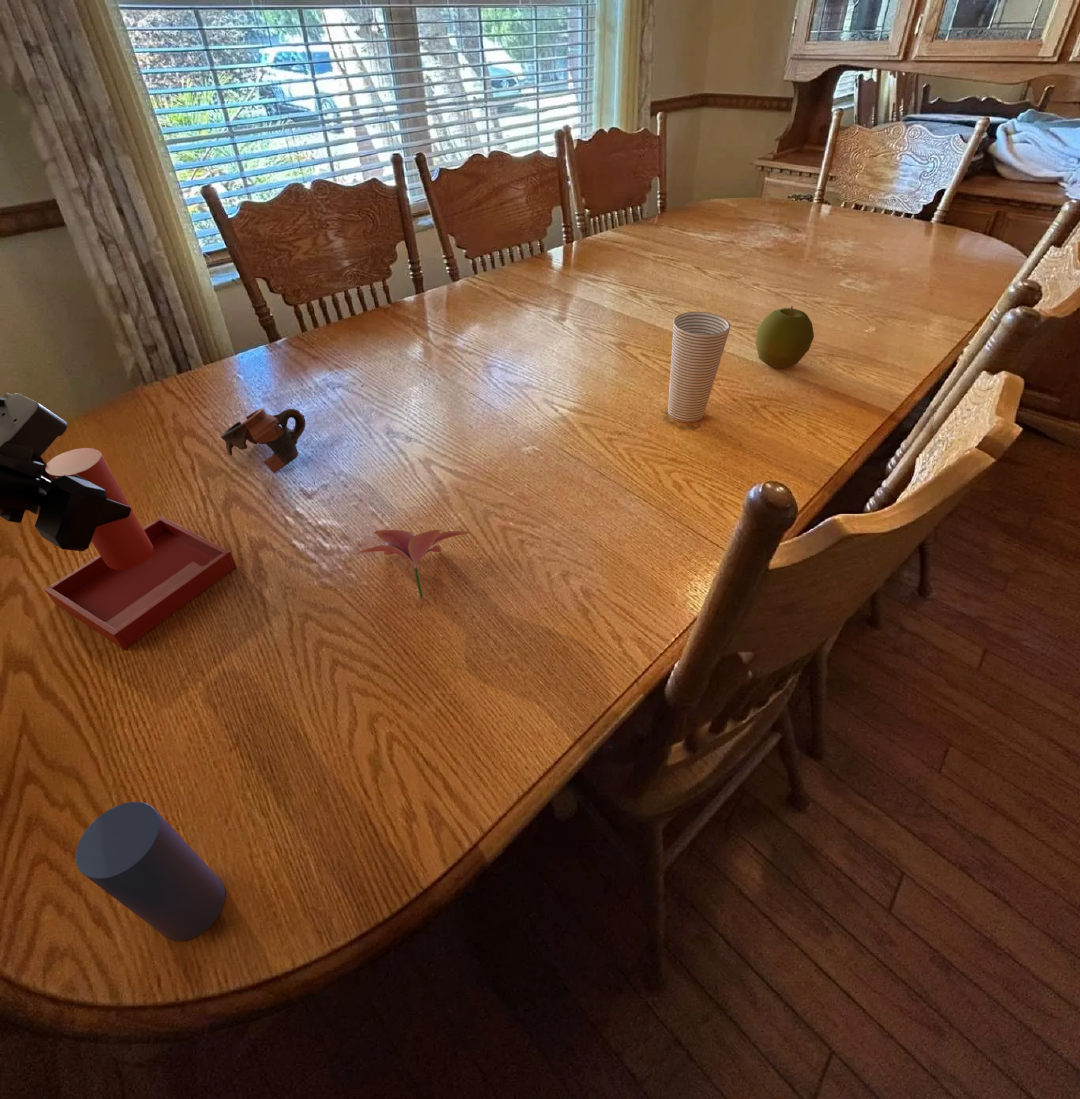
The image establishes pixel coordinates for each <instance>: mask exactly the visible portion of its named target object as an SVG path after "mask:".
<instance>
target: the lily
mask: <svg viewBox="0 0 1080 1099" xmlns="http://www.w3.org/2000/svg"><path fill="white" fill-rule="evenodd" d="M374 533H375V535H377V537H378V538H379V539H380V540H381V542H383V544H382V545H381V544H380V545H376V546H372V547H369V548H366V549H365V548H364V549H362V550H360V551H358V553H357V554H361V553H362V554H363V553H372V552H383V554H384V555H385V556H386V557H388V556H392V555H394V554H396V555H398V556H401V557H402V558H405V559H406V560H407V561H408V562H411V563H412V564H413V567H414V574H415V580H416V584H417V588H418V592H419V593H418V594H419V597H420V598H423V597H424V596H423V590H422V587H421V582H420V579H419V573H418V564H419V563H420V562H421V560H422V559H423V558H424V557H425V556H426V555H427V554H428V553H441V552H442V548H441V546H440V545H438V544H437V543H439V542H441V541H444V540H447V539H450V538H453V537H458V536H463V535H467V534H470V533H471V531H465V530H448V531H447V530H446V531H441V529H434V530H427V531H425V532H421V533H418V534H417V533H416V534H414V533H412V530H410V531H407V530H402V529H380V530H376V531H374ZM435 544H436V545H435ZM432 546H433V547H432Z"/></svg>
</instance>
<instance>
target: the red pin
mask: <svg viewBox="0 0 1080 1099" xmlns="http://www.w3.org/2000/svg"><path fill="white" fill-rule="evenodd" d="M45 470H46V472H47V474H48V476H49V477H50V479H51V480H53V479H54V478H60V477H61V476H63V475H67V476H72V477H74V475H75V474H77V475H79V476H80V477H82V478H84V479H86V480H88V481H90V482H91V483H93V484H95V485H97V486H99V487H100V488H102V489H104V490H106V495H107V498H108V499H110V500H113V501H116V502H119V503H121V504H124V505H126V506H129V507H131V512H130V515H129V517H127V518H123V519H120V520H117V521H114V522H111V523H107V524H104V525H101V526H98V527H96V529H95V532H94V534H93V537H92V540H91V544H92V545H93V547H94V549H96V551H97V553H98V555H100V556H101V557H102V559H103V560H104V562H105V564H106V565H107V566H108V567H109V568H112V569H115V570H123V569H129V568H132V567H135V566H137V565H139V564H141V563H143V562H144V561H146V560H147V559H148V558H149V557H150V556H151V554H152V552H153V545H152V543H151V542H150V540H149V538H148V536H147V535H146V533H145V531H144V529H143V527H144V526H142V524H141V522H140V520H139V519H138V517H137V515H136V513H135V511H134V509H133V508H132V505H131V504H130V503H129V501H128V499H127V497H126V494H125V493H124V491H123V490H122V488H121V487H120V484H119V483H118V481H117V479H116V477H115V476H114V474H113V471H112V470H111V468H110V466H109V465H108V463H107V462H106V459H105V458H104V456H103V455H102V453H101V452H100V451H99V450H98V449H96V448H92V447H81V448H75V449H71V450H67V451H64V452H62V453H60V454H57V455H56V456H54V457H53V458H51V459H50V460H49V461H48V462H47V463H46V468H45Z"/></svg>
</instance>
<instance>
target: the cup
mask: <svg viewBox="0 0 1080 1099" xmlns="http://www.w3.org/2000/svg"><path fill="white" fill-rule="evenodd" d="M672 325H673V326H672V339H671V353H670V354H671V358H670V368H669V370H670V371H669V373H670V374H669V384H668V386H669V387H668V402H667V414H668V416H669V417H670V418H672V419H673V420H675V421H677V422H681V423H695V422H698V421H701V420H702V419H703V417H704V416H705V413H706V409H707V406H708V403H709V400H710V396H711V393H712V390H713V386H714V384H715V380H716V377H717V374H718V370H719V367H720V363H721V360H722V357H723V353H724V350H725V347H726V343H727V340H728V337H729V334H730V330H731V323H730V322H729V321H728V319H726V318H725V317H722V316H720V315H718V314H715V313H712V312H711V313H710V312H705V311H689V312H685V313H684V312H683V313H681V314H678V315H677V316H676V317H675V318H673V323H672Z"/></svg>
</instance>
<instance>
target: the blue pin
mask: <svg viewBox="0 0 1080 1099" xmlns="http://www.w3.org/2000/svg"><path fill="white" fill-rule="evenodd" d="M75 864H76V867H77V869H78V871H79V872H80V873H81V874H82V875H83V876H84V877H86V878H87V879H89V880H90V881H91V882H93V883H94V884H95V885H97V886H98V887H99V888H100V889H102V890H103V891H104V892H106V893H107V894H108V895H110V897H112V898H114V899H115V900H116V901H118V902H119V903H120V904H121V905H123V906H124V907H125V908H126V909H128V910H129V911H131V912H132V913H133V914H135V915H136V916H137V917H138V918H140V919H141V920H143V921H144V922H145V923H147V924H148V925H149V926H150V927H151V928H153V929H154V930H156V931H157V932H158V933H160V934H161V936H164V937H165V938H166V939H168V940H170V941H174V942H185V941H189V940H192V939H195V938H196V937H199V936H200V935H202V934H203V933H204V932H206V931H207V930H208V929H209V928H211V926H212V925H213V924H214V923H215V922H216V920H217V919H218V917H219V916H220V914H221V912H222V910H223V907H224V906H225V901H226V889H225V888H226V887H225V885H224V883H223V881H222V880H221V878H220V877H219V876H218V875H217V873H215V872H214V871H213V870H212V869H211V868H210V866H209V865H207V863H206V862H205V861H204V860H203V859H202V858H201V857H200V856H199V855H198V854H197V852H195V850H194V848H192V847H191V846H190V845H189V844H188V843H187V842H186V841H185V840H184V839H183V837H182V836H181V835H180V834H179V833H178V832H177V831H176V830H175V829H174V828H173V827H172V826H171V825H170V824H169V822H168V821H167V820H166V819H165V818H164V817H163V816H162V815H161V814H160V813H159V812H158V810H157V809H156V808H154V807H153V806H152V805H151V804H149V803H146V802H143V801H128V802H125V803H121V804H118V805H115V806H113V807H111V808H109V809H108V810H106V811H104V812H103V813H102V814H100V815H99V816H98V817H97V818H96V819H94V820H93V821H92V822H91V823H90V824H89V826H87V828H86V829H85V831H84V832H83V833H82V835H81V837H80V839H79V841H78V843H77V846H76V849H75Z"/></svg>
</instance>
